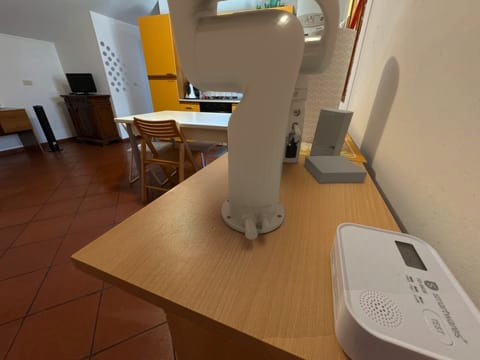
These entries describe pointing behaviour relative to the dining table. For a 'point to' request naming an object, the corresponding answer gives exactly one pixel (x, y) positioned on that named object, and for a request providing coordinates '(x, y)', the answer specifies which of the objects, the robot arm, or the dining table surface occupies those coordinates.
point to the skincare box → (330, 132)
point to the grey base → (334, 169)
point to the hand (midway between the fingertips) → (286, 152)
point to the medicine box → (295, 160)
